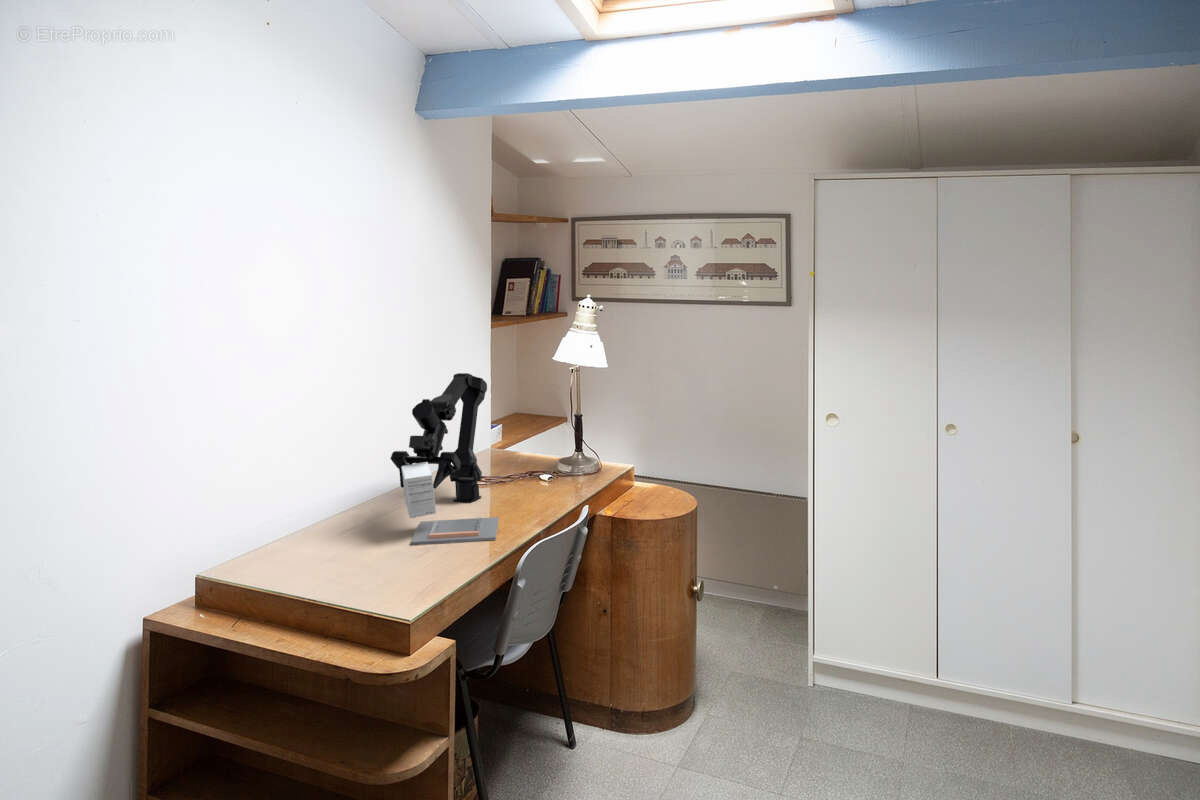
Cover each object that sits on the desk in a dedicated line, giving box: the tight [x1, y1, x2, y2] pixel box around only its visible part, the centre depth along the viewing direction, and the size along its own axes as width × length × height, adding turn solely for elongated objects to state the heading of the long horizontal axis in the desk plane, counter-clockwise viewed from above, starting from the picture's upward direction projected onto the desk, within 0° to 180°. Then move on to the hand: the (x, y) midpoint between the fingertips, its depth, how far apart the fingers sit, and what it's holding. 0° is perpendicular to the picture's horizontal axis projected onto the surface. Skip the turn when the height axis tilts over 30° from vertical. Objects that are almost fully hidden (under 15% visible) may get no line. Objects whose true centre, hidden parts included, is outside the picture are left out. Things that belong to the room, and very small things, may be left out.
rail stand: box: [410, 516, 500, 546], centre depth 216 cm, size 18×22×2 cm
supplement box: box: [401, 462, 437, 519], centre depth 214 cm, size 7×7×13 cm
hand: (417, 487), depth 214 cm, fingers closed on supplement box, 9 cm apart
